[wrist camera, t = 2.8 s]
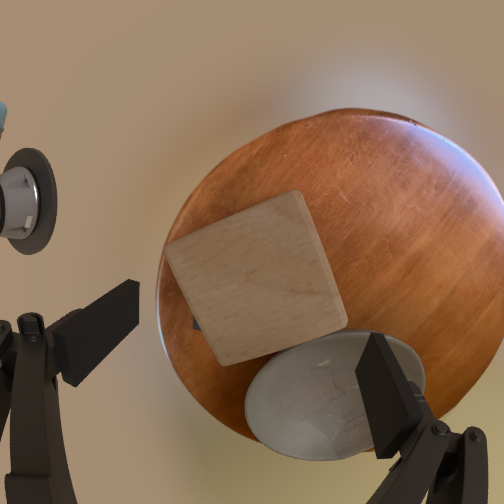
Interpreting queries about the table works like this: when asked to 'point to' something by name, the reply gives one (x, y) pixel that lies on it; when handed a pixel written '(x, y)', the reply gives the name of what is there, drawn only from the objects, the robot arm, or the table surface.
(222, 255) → the wooden block
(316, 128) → the table surface
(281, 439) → the bowl
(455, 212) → the table surface
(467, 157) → the table surface
